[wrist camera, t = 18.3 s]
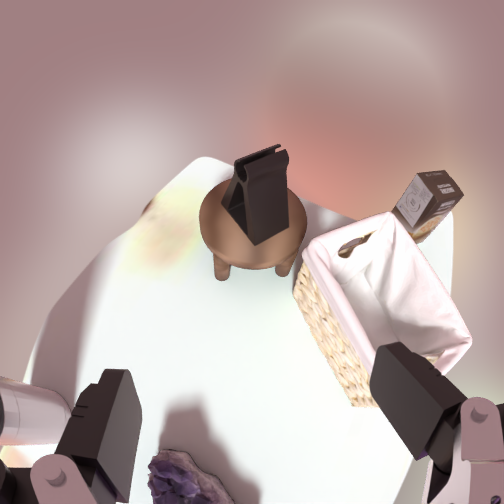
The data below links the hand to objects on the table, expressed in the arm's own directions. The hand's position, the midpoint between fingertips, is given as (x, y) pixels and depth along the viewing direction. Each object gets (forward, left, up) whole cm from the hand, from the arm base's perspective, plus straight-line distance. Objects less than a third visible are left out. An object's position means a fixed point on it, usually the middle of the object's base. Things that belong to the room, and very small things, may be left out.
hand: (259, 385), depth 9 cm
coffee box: (+37, +27, -35) cm, 57 cm away
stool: (+5, +26, -35) cm, 43 cm away
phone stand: (+5, +25, -26) cm, 37 cm away
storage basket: (+21, +9, -35) cm, 42 cm away
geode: (-7, -16, -35) cm, 39 cm away
